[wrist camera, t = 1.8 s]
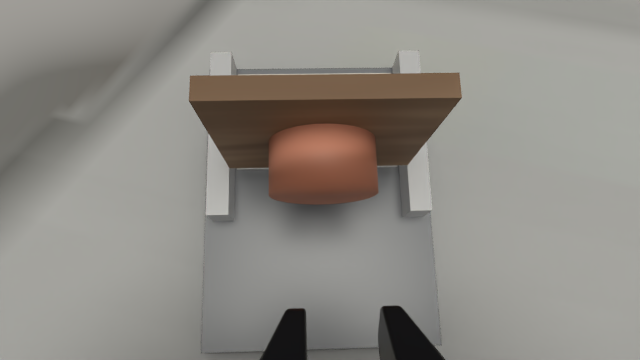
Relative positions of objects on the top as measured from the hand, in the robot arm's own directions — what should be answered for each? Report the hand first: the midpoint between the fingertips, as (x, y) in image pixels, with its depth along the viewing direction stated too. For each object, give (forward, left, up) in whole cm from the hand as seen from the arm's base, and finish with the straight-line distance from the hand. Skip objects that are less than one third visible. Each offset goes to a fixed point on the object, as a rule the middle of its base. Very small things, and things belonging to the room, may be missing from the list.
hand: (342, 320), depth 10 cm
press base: (+5, 0, -14) cm, 14 cm away
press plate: (+5, 0, -10) cm, 11 cm away
